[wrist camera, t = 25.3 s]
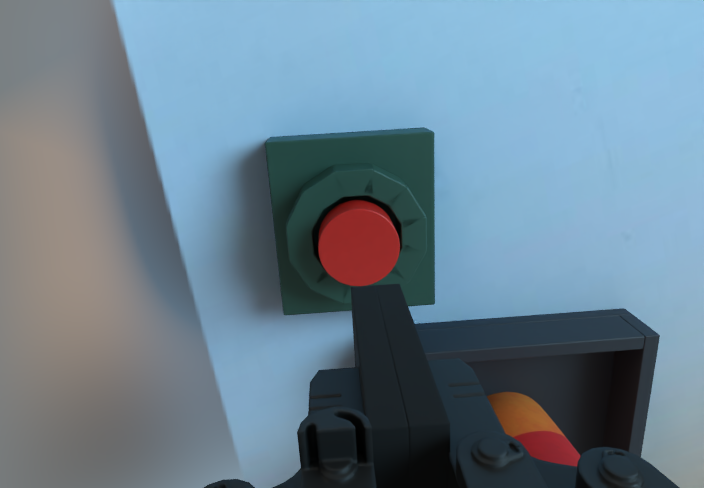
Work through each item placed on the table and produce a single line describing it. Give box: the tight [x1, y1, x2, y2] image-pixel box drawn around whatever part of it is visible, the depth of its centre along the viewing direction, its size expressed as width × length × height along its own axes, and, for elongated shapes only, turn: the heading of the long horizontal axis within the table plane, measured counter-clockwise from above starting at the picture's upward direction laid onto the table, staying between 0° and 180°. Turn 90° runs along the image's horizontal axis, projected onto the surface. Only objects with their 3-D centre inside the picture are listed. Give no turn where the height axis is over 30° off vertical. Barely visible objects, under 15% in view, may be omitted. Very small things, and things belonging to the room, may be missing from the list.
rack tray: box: [414, 309, 660, 457], centre depth 30 cm, size 15×15×3 cm
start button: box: [318, 200, 400, 286], centre depth 23 cm, size 4×4×2 cm
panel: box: [265, 128, 435, 315], centre depth 25 cm, size 8×9×4 cm
